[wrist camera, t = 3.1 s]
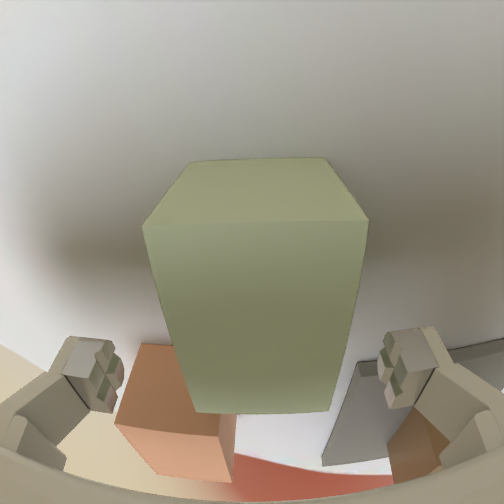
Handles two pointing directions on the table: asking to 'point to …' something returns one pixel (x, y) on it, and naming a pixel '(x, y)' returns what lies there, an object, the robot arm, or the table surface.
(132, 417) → the terracotta brick
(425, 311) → the table surface
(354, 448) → the base plate
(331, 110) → the table surface
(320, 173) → the sage brick
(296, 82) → the table surface
